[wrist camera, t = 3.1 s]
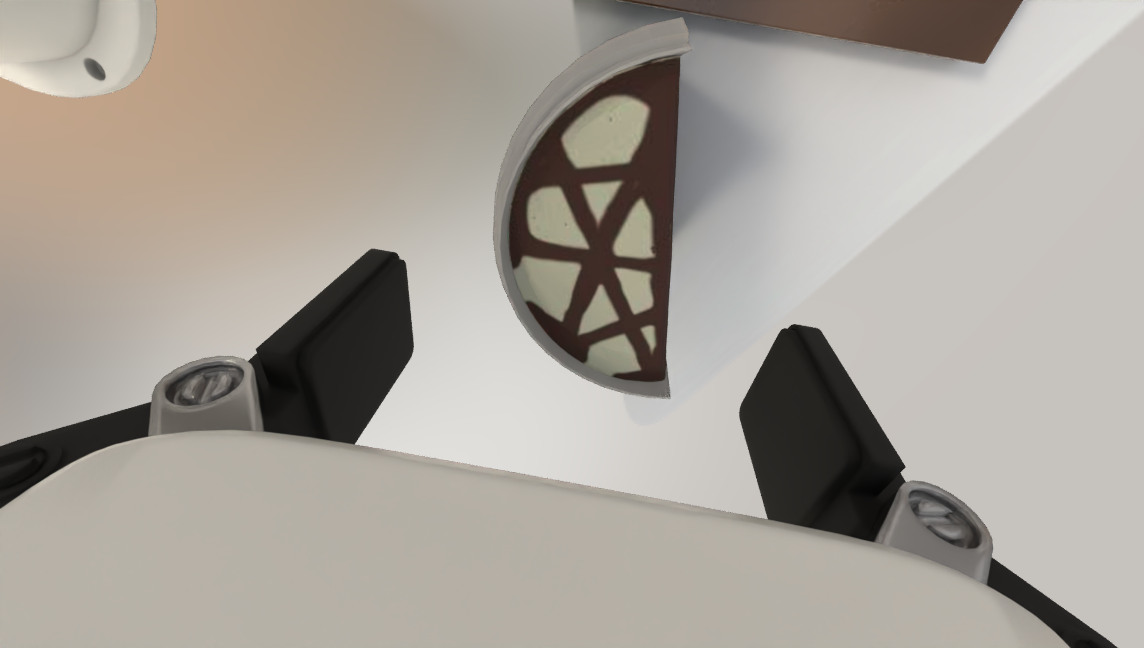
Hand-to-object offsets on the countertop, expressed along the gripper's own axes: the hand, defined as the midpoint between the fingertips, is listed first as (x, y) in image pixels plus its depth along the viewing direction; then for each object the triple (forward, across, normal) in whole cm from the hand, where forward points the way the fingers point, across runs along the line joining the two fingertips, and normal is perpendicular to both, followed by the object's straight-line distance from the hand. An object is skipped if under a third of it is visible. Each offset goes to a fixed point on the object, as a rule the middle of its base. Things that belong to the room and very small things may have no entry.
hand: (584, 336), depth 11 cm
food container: (+13, +1, 0) cm, 13 cm away
